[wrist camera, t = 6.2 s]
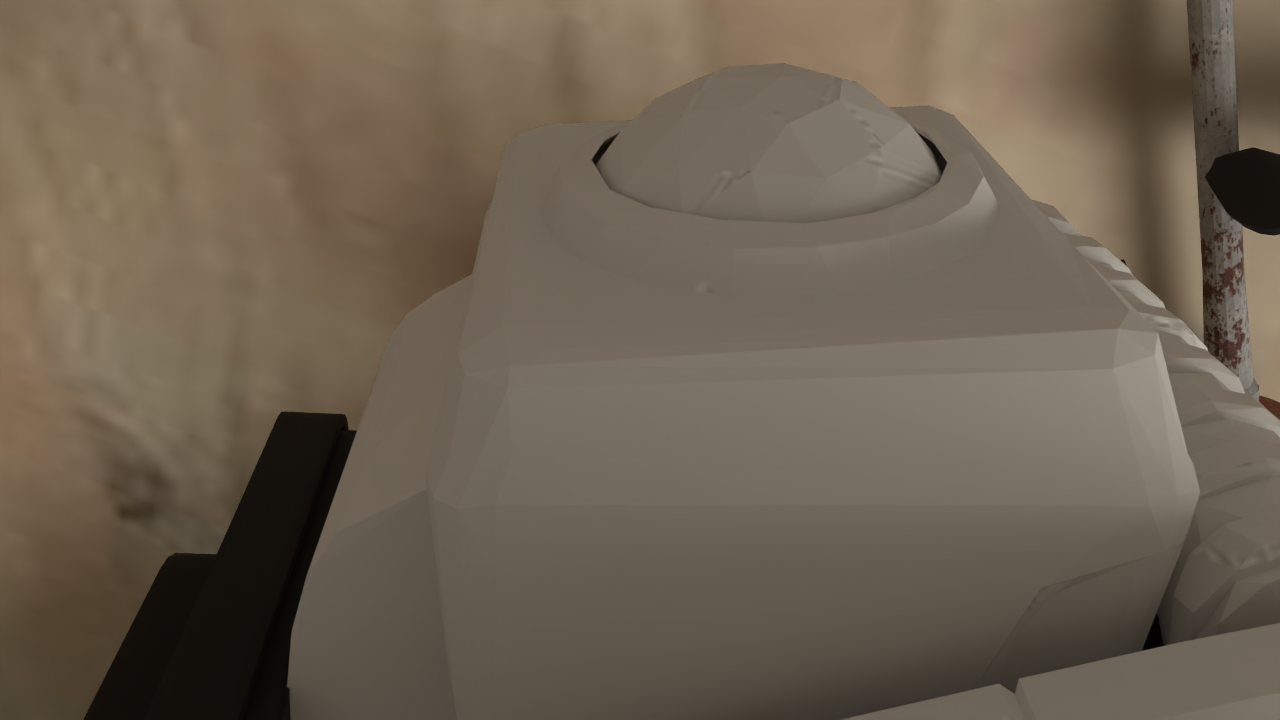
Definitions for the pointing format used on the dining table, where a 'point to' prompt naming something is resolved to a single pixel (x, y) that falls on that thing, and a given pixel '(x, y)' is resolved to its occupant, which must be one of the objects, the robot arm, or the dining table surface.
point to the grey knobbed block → (793, 448)
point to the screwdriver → (1217, 228)
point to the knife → (1249, 188)
